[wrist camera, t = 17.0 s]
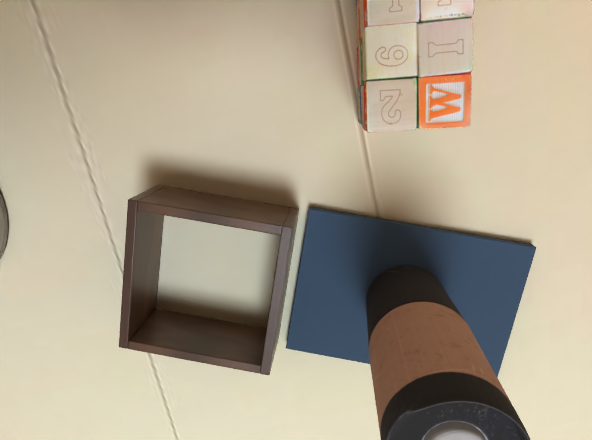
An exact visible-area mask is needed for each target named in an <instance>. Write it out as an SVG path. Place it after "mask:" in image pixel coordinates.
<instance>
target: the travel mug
mask: <svg viewBox="0 0 592 440" xmlns="http://www.w3.org/2000/svg"><path fill="white" fill-rule="evenodd" d="M366 314H367V331H368V347H369V358H370V365H371V372H372V379H373V386H374V393H375V400H376V407H377V414H378V422H379V429H380V435H381V440H530V438H529V436H528V433H527V431H526V429H525V427H524V425H523V424H522V422H521V420H520V418H519V416H518V415H517V413H516V411H515V409H514V407H513V406H512V404H511V402H510V400H509V398H508V396H507V395H506V393H505V391H504V389H503V387H502V386H501V384H500V382H499V380H498V378H497V377H496V375H495V373H494V371H493V369H492V367H491V366H490V364H489V362H488V360H487V358H486V357H485V355H484V353H483V351H482V349H481V347H480V346H479V344H478V342H477V340H476V338H475V337H474V335H473V333H472V331H471V329H470V328H469V326H468V324H467V323H466V321H465V320H464V318H463V317H462V315H461V314H460V312H459V311H458V309H457V308H456V306H455V305H454V303H453V301H452V300H451V298H450V297H449V295H448V294H447V292H446V291H445V289H444V288H443V286H442V285H441V283H440V282H439V281H438V280H437V278H436V277H435V276H434V275H432V274H431V273H430V272H428V271H427V270H425V269H423V268H420V267H417V266H411V265H401V266H396V267H392V268H390V269H387V270H386V271H384V272H382V273H381V274H380V275H378V276H377V277H376V278H375V280H374V281H373V282H372V284H371V286H370V287H369V290H368V293H367V297H366Z"/></svg>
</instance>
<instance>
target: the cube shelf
mask: <svg viewBox="0 0 592 440" xmlns="http://www.w3.org/2000/svg"><path fill="white" fill-rule="evenodd" d="M298 213H299V209H296V208H290V207H284V206H278V205H272V204H267V203H261V202H255V201H249V200H243V199H237V198H231V197H226V196H220V195H214V194H208V193H202V192H196V191H190V190H184V189H179V188H173V187H166V186H161V185H158V186H155V187H153V188H151V189H149V190H147V191H145V192H143V193H141V194H139V195H137V196H135V197H133V198H130V199H129V200H128V211H127V227H126V243H125V259H124V275H123V290H122V306H121V322H120V338H119V347H121V348H128V349H132V350H137V351H143V352H148V353H153V354H159V355H164V356H169V357H175V358H180V359H185V360H191V361H196V362H201V363H207V364H212V365H218V366H223V367H228V368H234V369H239V370H244V371H250V372H255V373H260V374H265V375H269V374H270V370H271V366H272V362H273V358H274V354H275V350H276V346H277V342H278V338H279V332H280V326H281V319H282V313H283V307H284V301H285V295H286V288H287V282H288V276H289V270H290V263H291V257H292V251H293V245H294V238H295V232H296V226H297V220H298ZM164 215H167V216H172V217H178V218H184V219H190V220H195V221H201V222H207V223H213V224H219V225H224V226H230V227H236V228H242V229H247V230H253V231H259V232H265V233H270V234H276V235H281V239H280V246H279V252H278V259H277V266H276V272H275V279H274V285H273V292H272V298H271V305H270V312H269V318H268V325H267V329H264V328H259V327H253V326H248V325H242V324H237V323H231V322H226V321H220V320H215V319H210V318H204V317H199V316H193V315H188V314H182V313H177V312H171V311H166V310H160V309H156V301H157V289H158V277H159V265H160V253H161V241H162V229H163V217H164Z"/></svg>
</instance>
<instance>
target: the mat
mask: <svg viewBox="0 0 592 440" xmlns="http://www.w3.org/2000/svg"><path fill="white" fill-rule="evenodd" d="M535 250H536V247H535V246H533V245H532V244H527V243H521V242H515V241H509V240H504V239H498V238H492V237H486V236H480V235H474V234H468V233H462V232H457V231H451V230H445V229H439V228H433V227H427V226H421V225H415V224H410V223H404V222H398V221H392V220H386V219H380V218H374V217H368V216H363V215H357V214H351V213H345V212H339V211H333V210H327V209H321V208H316V207H310V208H309V212H308V218H307V224H306V231H305V237H304V243H303V249H302V255H301V261H300V267H299V273H298V279H297V285H296V291H295V297H294V303H293V309H292V315H291V321H290V327H289V333H288V339H287V345H286V348H287V349H292V350H298V351H303V352H309V353H314V354H319V355H325V356H330V357H336V358H341V359H347V360H352V361H357V362H363V363H368V364H370V358H369V347H368V331H367V314H366V297H367V293H368V290H369V287H370V286H371V284H372V282H373V281H374V280H375V278H376V277H377V276H378V275H380V274H381V273H382V272H384V271H386V270H387V269H390V268H392V267H396V266H401V265H411V266H417V267H420V268H423V269H425V270H427V271H428V272H430V273H431V274H432V275H434V276H435V277H436V278H437V280H438V281H439V282H440V283H441V285H442V286H443V288H444V289H445V291H446V292H447V294H448V295H449V297H450V298H451V300H452V301H453V303H454V305H455V306H456V308H457V309H458V311H459V312H460V314H461V315H462V317H463V318H464V320H465V321H466V323H467V324H468V326H469V328H470V329H471V331H472V333H473V335H474V337H475V338H476V340H477V342H478V344H479V346H480V347H481V349H482V351H483V353H484V355H485V357H486V358H487V360H488V362H489V364H490V366H491V367H492V369H493V371H494V373H495V375H496V377H497V376H498V373H499V370H500V366H501V363H502V360H503V356H504V353H505V350H506V347H507V343H508V340H509V337H510V333H511V330H512V327H513V323H514V320H515V317H516V313H517V310H518V307H519V303H520V300H521V297H522V293H523V290H524V287H525V283H526V280H527V277H528V273H529V270H530V267H531V264H532V260H533V257H534V254H535Z"/></svg>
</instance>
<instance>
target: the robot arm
mask: <svg viewBox="0 0 592 440" xmlns="http://www.w3.org/2000/svg"><path fill="white" fill-rule="evenodd" d="M7 235H8V220H7V213H6V209H5V205H4V202H3V199H2V196H1V194H0V258H1V256H2V254H3V252H4V249H5V246H6V242H7Z"/></svg>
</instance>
